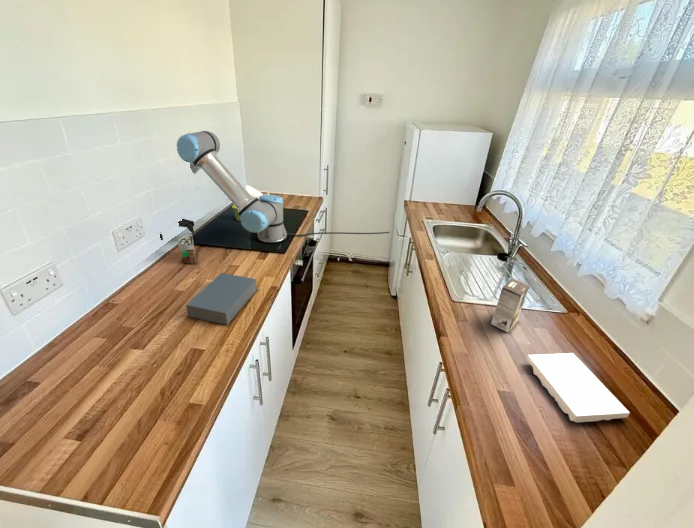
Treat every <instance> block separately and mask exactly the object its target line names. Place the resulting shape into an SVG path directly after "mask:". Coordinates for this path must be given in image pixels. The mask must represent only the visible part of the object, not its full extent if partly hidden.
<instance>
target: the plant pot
mask: <svg viewBox="0 0 694 528" xmlns="http://www.w3.org/2000/svg"><path fill="white" fill-rule="evenodd" d="M231 207H232V209H233V212H234V215H235V219H236V221H237V222H241V220H240V217H241V216H240V215H239V214H238V208H237V207H236V206H235V205H234V204H232V206H231Z"/></svg>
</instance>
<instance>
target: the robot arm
mask: <svg viewBox="0 0 694 528" xmlns="http://www.w3.org/2000/svg"><path fill="white" fill-rule="evenodd" d="M220 148H221V142H220V139H219V137H218V136H217V135H216V134H215V133H214V132H211V131H209V130H201V131H196V132H189V133H185V134H182V135H181V136H179V138H178V139H177V141H176V151H177V154H178V157H180V159H181V160H182V161H184V162H185V161H186V162H189V163H190V168H191V170H192V172H193V173H194V174H195V175H196V174H197V173H198V172H199V171H200V170H202V171H203V172H204V173H205V174H206V175H207V176H208V177H209V179H211V180H212V181H213V183H214V184H215V185H216V186H217V188H219V189H220V190H221V191H222V193H223V194H224V195H225V196H226V197H227V198H228V199H229V201H230V202H231V203H232V205H235V206H236V207H237V208H238V214H239V215H240V216H241V217H240V220H241V221H240V224H241V226H242V227H243V229H244V230H246V231H247V232H249V233H255V234H257V240H258V241H259V242H261V243H262V244H263V243H264V244H271V245H272V244H279V243H282V242H285V241H286V240H287V238H288V235H289V236H295V237H305V236H311V235H329V234H330V235H333V234H334V235H341V234H342V235H384V234H390V231H381V232H346V231H345V232H344V231H343V232H342V231H341V232H339V231H338V232H337V231H336V232H335V231H330V232H329V231H328V232H323V231H322V232H309V233H303V234H295V233H292V232H291V233H290V232H287V230H286V227H285V225H284V200H283V198H282V196H279V195H276V194H269V195H264V194H263V195H261V196H260V197H259V199H258V198H256V197H252V196H251V195H250V194H249V193H248V192H247V191H246V189H245V188H246V187H244V186H243V184H241V182H240V181H238V179H237V178H236V177H235V176H234V174H232V172H231V171H230V170H229V169H228V168H227V166H225V164H224V163H223V162H222V161H221V160H220V158H218V153H219V151H220ZM178 223H179V226H178V227H181V228H187V230H188V231H189V232H190V233H191V234H194V233H195V229H194V227H195V222H194V220H191V219H187V218H183V219H182V221H179V222H178ZM160 238H161V239H160ZM160 238H159V239H160V240H161V241H164V236H163V233H161V234H160Z"/></svg>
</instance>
